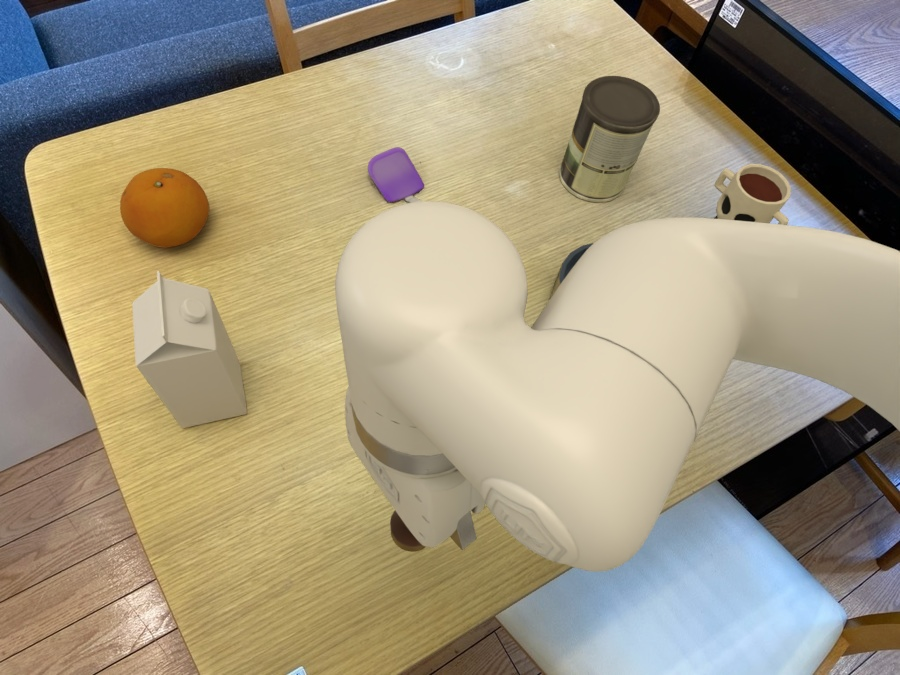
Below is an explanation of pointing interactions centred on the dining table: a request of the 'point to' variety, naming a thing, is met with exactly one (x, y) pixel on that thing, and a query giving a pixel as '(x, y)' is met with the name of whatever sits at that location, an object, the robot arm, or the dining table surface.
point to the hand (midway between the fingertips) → (414, 501)
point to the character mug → (753, 194)
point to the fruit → (164, 207)
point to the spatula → (395, 175)
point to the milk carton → (187, 353)
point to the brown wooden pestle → (403, 535)
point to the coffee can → (607, 137)
